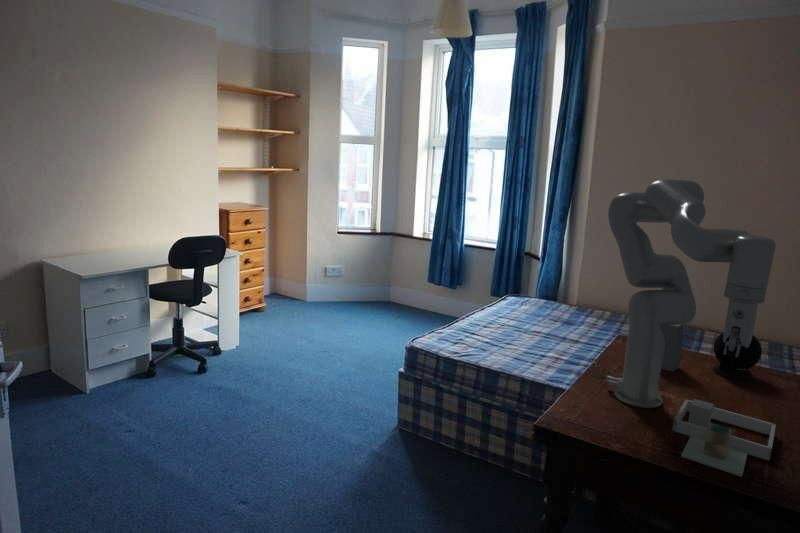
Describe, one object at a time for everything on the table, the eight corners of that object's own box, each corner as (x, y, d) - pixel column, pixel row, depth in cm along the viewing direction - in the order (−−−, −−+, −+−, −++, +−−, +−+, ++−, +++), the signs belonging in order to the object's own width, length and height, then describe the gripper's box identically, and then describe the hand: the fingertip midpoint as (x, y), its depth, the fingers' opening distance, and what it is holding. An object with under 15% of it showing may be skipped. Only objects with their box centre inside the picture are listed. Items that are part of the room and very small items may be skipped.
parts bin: (672, 430, 138) (673, 419, 137) (684, 409, 150) (685, 399, 150) (769, 460, 126) (771, 449, 125) (773, 435, 138) (775, 424, 138)
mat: (681, 456, 126) (681, 454, 126) (690, 436, 135) (691, 434, 135) (741, 476, 119) (742, 474, 119) (747, 454, 128) (747, 452, 128)
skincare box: (679, 367, 181) (687, 322, 177) (673, 373, 175) (680, 326, 172) (652, 360, 186) (659, 315, 183) (645, 365, 181) (652, 320, 178)
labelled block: (702, 453, 126) (707, 428, 125) (706, 445, 130) (710, 421, 129) (725, 460, 124) (729, 435, 123) (727, 452, 127) (732, 428, 126)
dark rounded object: (756, 373, 179) (765, 329, 176) (755, 386, 169) (765, 340, 166) (711, 363, 187) (718, 321, 183) (707, 375, 176) (715, 330, 173)
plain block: (687, 426, 141) (691, 404, 140) (690, 419, 144) (694, 398, 143) (707, 432, 138) (711, 410, 137) (709, 425, 142) (713, 404, 140)
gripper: (762, 304, 110) (745, 383, 114) (768, 288, 124) (753, 359, 127) (719, 296, 114) (705, 372, 118) (730, 282, 128) (717, 351, 132)
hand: (730, 365), depth 123 cm, fingers open, 9 cm apart
